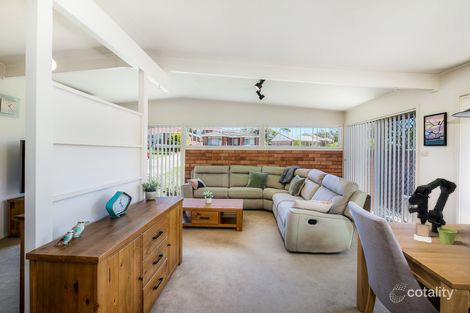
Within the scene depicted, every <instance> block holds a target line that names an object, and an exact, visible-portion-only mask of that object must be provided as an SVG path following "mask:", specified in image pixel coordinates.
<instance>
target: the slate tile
mask: <svg viewBox="0 0 470 313" xmlns="http://www.w3.org/2000/svg"><path fill="white" fill-rule="evenodd" d="M415 224H416V225H415V234H416V235H417V236H423V237H429V236H430V224H426V223H425V224H421V223H415Z"/></svg>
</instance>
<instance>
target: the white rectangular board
mask: <svg viewBox="0 0 470 313" xmlns="http://www.w3.org/2000/svg"><path fill="white" fill-rule="evenodd" d="M413 234H414V235H413V240H414V241H419V242H426V243H430V244H431V243H432V236H430V235H429V237H423V236H417V235H416V233H413Z"/></svg>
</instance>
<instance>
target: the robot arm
mask: <svg viewBox="0 0 470 313" xmlns="http://www.w3.org/2000/svg"><path fill="white" fill-rule="evenodd" d="M437 188H439V190H440V193H439V196H438V197H437V200H436V202H435V205H434V207H433V209H429V199H430V198H431V196H430V195H431V194H432V193H433V190H435V189H437ZM456 189H457V183H455V182H453V181H451V180H447V178H442V177H441V178H440V177H438V178H436V179H435V180H432V181H431V182H429V183H427V184H422V185H418V186H417V187H416V188H415V190H414V192H413V193H412V195H410V197H409V198H408V199H407V201H408V203H409V205H411V206H414V207H409V208H407V212H408V213H409V214H410V215H411V214H415V213H417V215H416V217H417V219H419V220H420V224H425V225H426V223H427V222H428V223H430V224H431V227H430V228H431V229H430V233H435V234H439V232H438V230H437V228H443V226H446V224H447V222H446V220H445V219H444V213H443V211H444V209H445V206H446V204H447V202H448V199H449V198H450V195H451V194H453V193H454V192H455V190H456Z"/></svg>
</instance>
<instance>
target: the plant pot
mask: <svg viewBox="0 0 470 313" xmlns="http://www.w3.org/2000/svg"><path fill="white" fill-rule="evenodd" d="M437 230H438V232H439V233H438V236H439V242H440V243H441V244H444V245H451V246H452V245H454V243H455V242H454V241H455V238H456V234H457V233H458V231H457V230H455V229H452V228H447V227H442V228H437Z"/></svg>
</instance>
